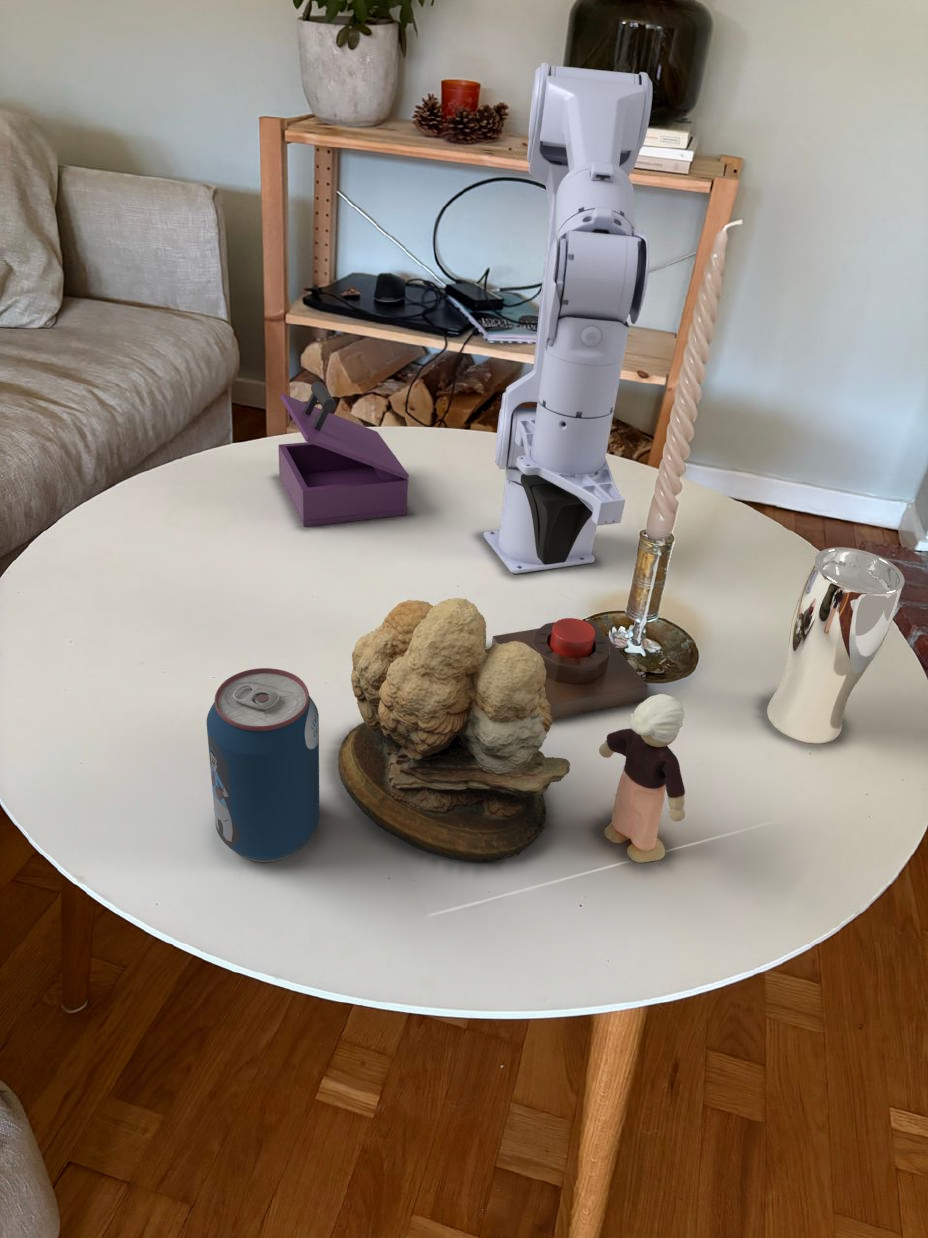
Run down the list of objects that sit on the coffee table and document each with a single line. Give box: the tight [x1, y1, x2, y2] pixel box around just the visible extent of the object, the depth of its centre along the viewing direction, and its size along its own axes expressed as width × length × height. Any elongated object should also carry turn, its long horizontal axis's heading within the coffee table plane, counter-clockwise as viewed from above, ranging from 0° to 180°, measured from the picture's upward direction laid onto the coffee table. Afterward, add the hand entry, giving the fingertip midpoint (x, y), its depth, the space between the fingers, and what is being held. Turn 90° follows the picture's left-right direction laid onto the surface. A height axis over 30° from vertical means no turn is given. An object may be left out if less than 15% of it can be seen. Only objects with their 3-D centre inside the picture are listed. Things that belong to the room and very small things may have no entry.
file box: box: [277, 441, 409, 527], centre depth 105 cm, size 11×11×4 cm
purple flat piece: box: [279, 380, 410, 480], centre depth 102 cm, size 12×11×4 cm
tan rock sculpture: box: [337, 597, 571, 862], centre depth 66 cm, size 18×12×17 cm, turn 56°
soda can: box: [206, 667, 320, 863], centre depth 62 cm, size 7×7×12 cm
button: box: [550, 617, 595, 659], centre depth 81 cm, size 4×4×2 cm
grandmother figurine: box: [598, 693, 686, 864], centre depth 65 cm, size 8×4×13 cm, turn 48°
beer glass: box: [766, 546, 905, 744], centre depth 76 cm, size 7×7×15 cm
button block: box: [491, 619, 649, 720], centre depth 82 cm, size 10×10×4 cm
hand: (551, 559), depth 79 cm, fingers closed
